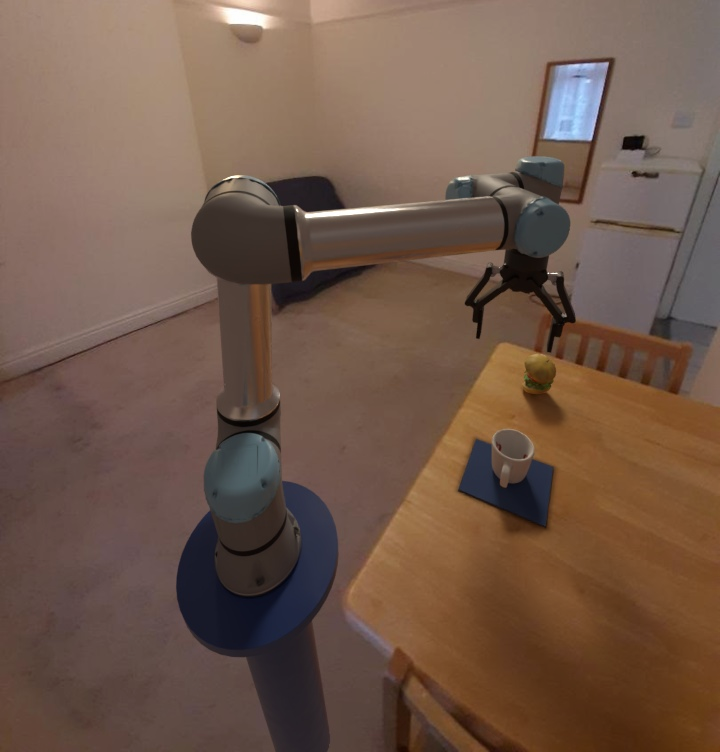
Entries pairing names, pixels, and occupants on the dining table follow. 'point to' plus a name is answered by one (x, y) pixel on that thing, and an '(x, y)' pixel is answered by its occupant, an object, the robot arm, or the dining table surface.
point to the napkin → (515, 498)
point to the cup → (511, 455)
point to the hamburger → (538, 374)
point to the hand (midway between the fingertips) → (512, 341)
